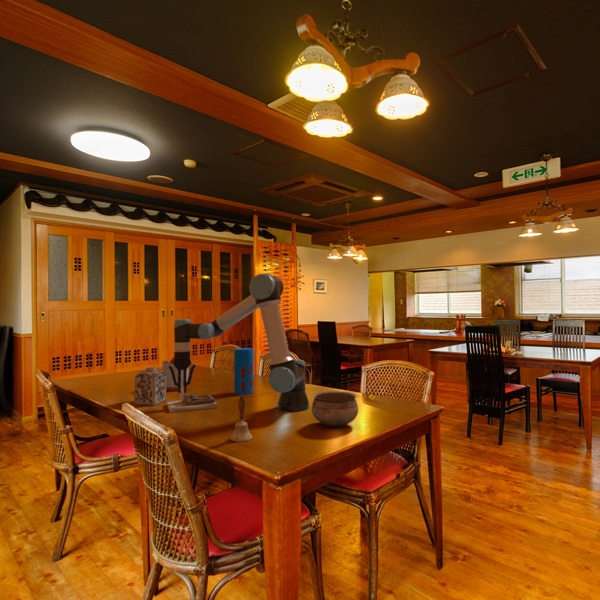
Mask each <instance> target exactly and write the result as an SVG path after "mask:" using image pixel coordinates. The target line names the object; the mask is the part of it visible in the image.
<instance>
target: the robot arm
mask: <svg viewBox="0 0 600 600" xmlns="http://www.w3.org/2000/svg"><path fill="white" fill-rule="evenodd" d="M284 287H285V286H284V283H283V281H282V280H281V279H280V277H278V276H276V275H272V274H269V273H257V274H256V275H255V276H254V277H253V278H251V280H250V282H249V288H248V289H249V293H250V295H248V296H247V297H246V298H244V299H243V300H242V301H240V302H239V303H237V304H236V305H234V306H233V307H231V308H230V309H228V310H227V311H226V312H224V313H222V314H220V316H218V317H217V318H216V319H214V320H212V321H211V322H203V323H199V322H198V323H197V322H196V323H194V322H193V323H191V319H189V318H186V319H185V318H184V319H183V318H180V319H179V318H177V319H175V320H174V325H173V327H174V328H173V335H174V336H173V338H174V343H173V350H174V352H173V357H174V362H173V364H172V365H170V366H168V367H169V369H170V370H171V374H172V378H173V382H174V385H175V386H178V390H177V392H178V394H179V400H184V393H186V392H187V386H189V385H190V384H191V382H192V377H193V373H194V370H195V368H196V364H195V363H193V362H192V361H191V351H190V350H191V340H210V339H213V338H217V337H221V336H222V335H223V334H224V332H225V331H226V330H228V329H229V328H231V327H233V326H234V325H236V324H238V323H239V322H240V321H242V320H243V319H245V317H247V316H249V315H251V313H253V312H255V311H256V310H258V309H260V313H261V317H262V322H263V325H264V332H265V337H266V342H267V346H268V350H269V355H270V362H269V363H268V367H269V371H270V372H269V374H268V384H269V386H270V387H271V389H273V390H274V391H275V392H278V393H280V395H279V398H278V401H277V409H279V410H280V411H285V412H286V411H287V412H300V411H301V412H302V411H305V410H308V409H309V408H310V402H309V399H308V395H307V392H306V361H304V360H303V359H295V358H293V357H292V356H291V355H290V349H289V346H288V342H287V336H286V331H285V328H284V322H283V318H282V314H281V310H280V303H281V302H282V299H281V297H282V295H283V292H284ZM174 366H175V367H176V369H177V370H178V383H177V382H176V378H175V374H174V370H173V369H174ZM188 367H190V368H189V375H188V380H187V382H186V372H187V368H188ZM181 370H183V386H181Z"/></svg>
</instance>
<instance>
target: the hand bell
mask: <svg viewBox="0 0 600 600" xmlns="http://www.w3.org/2000/svg"><path fill="white" fill-rule="evenodd" d="M237 402H238V405H237V406H238V411H239V417H238V418H239V419H238V422H236V423H235V424H234V431H233V433H232V434H231V436H230V437H229V440H230V441H232V442H237V443H239V442H240V443H241V442H248V441H251V440H252V439H253V438H254V437H253V435H252V434H251V433H250V431H249V426H248V422H246V421H245V409H246V399H245V395H239V399H238V401H237Z"/></svg>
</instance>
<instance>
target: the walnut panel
mask: <svg viewBox="0 0 600 600" xmlns="http://www.w3.org/2000/svg"><path fill="white" fill-rule="evenodd" d="M196 397H198V399H196V400H193V399H191V397H190V395H189V394H188V393H187V391H186V393H184V400H182V401H183V403H184V404H185V405H194V404H204V403H215V402H216V399H215V398H214V397H213V396H212V394H205V395H204V394H203V395H196Z"/></svg>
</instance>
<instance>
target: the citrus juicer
mask: <svg viewBox="0 0 600 600" xmlns="http://www.w3.org/2000/svg"><path fill="white" fill-rule="evenodd" d="M173 362H174V356H173V357H172V358H171V359H170V361H168V360H161V363H162V364H161V367H162V368H161V371H162V372H164V373H165V374H166V391H169V392H174V391H178V386H175V385H174V382H173V378H172V374H171V370H170V369H169V367H168V366H170V365H172V364H173ZM189 367H190V366H189ZM189 367H188V368H187V372H186V382H187V380H188V376H189V372H190V368H189ZM173 370H174V374H175V378H176V382H177V383H178V370H177V369H176V367H175V366H174V369H173ZM181 386H183V370H181Z"/></svg>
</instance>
